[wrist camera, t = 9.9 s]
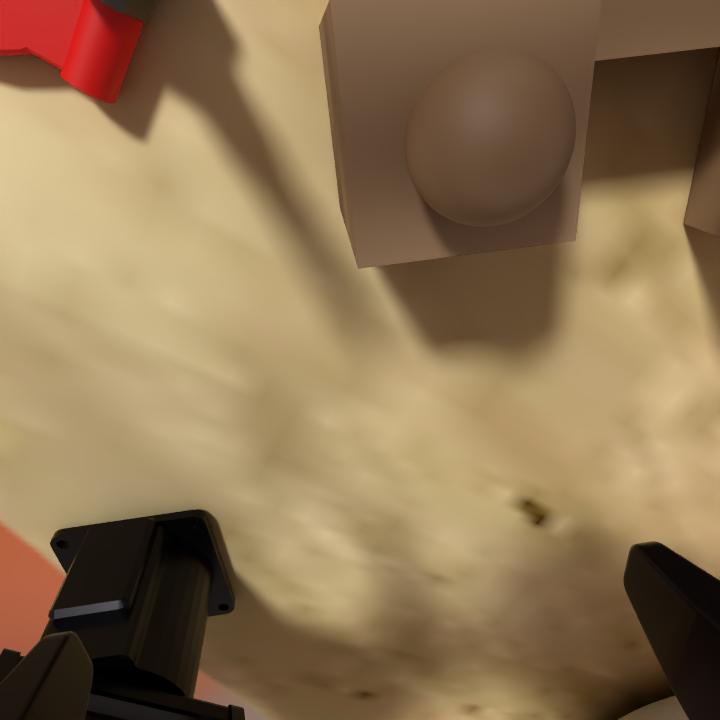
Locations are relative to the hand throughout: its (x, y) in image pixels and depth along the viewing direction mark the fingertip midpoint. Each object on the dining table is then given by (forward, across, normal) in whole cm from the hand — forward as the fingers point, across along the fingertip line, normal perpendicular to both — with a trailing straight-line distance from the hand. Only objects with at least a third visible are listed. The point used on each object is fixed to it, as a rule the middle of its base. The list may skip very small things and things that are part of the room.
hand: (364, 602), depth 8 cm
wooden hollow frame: (+11, -10, -6) cm, 17 cm away
